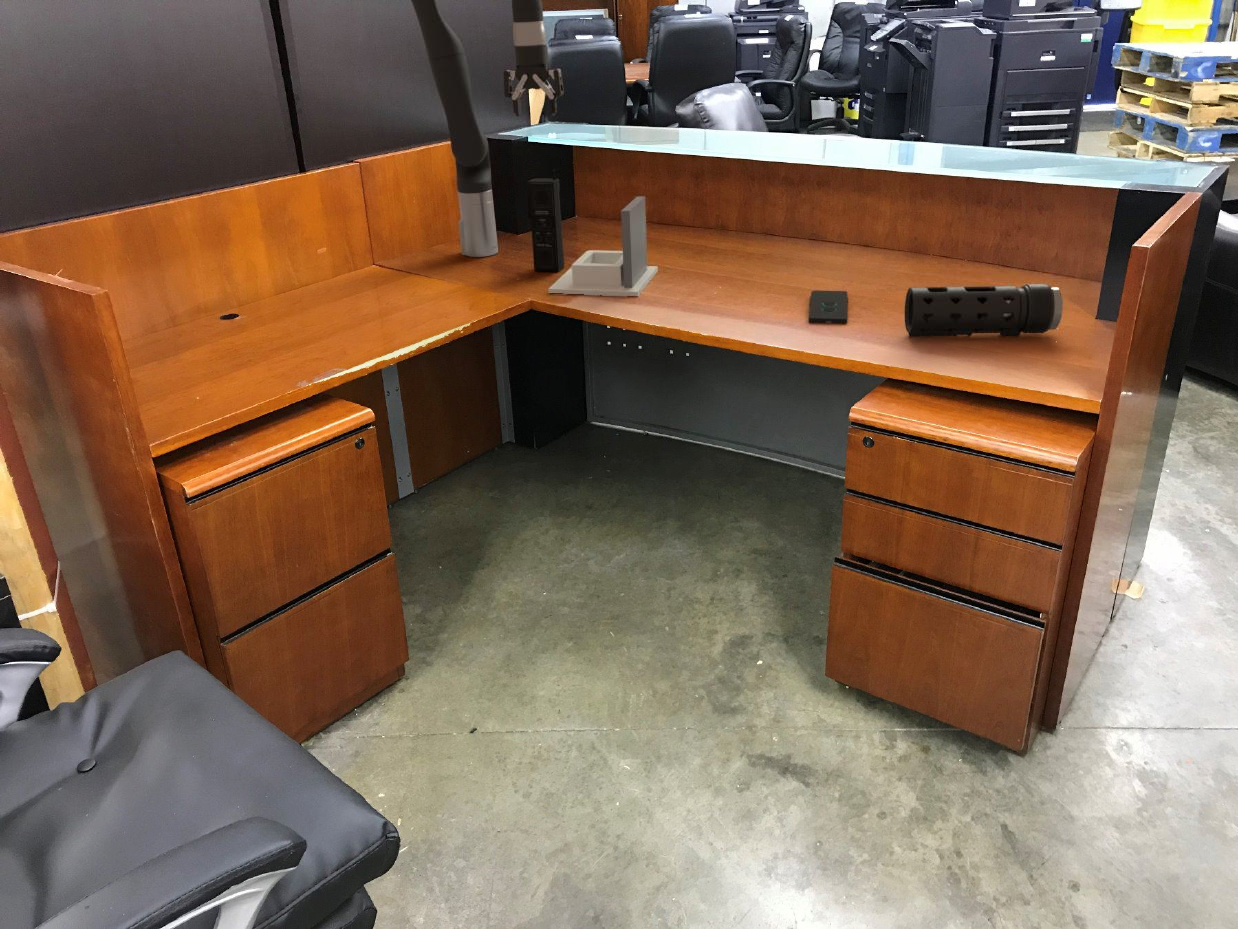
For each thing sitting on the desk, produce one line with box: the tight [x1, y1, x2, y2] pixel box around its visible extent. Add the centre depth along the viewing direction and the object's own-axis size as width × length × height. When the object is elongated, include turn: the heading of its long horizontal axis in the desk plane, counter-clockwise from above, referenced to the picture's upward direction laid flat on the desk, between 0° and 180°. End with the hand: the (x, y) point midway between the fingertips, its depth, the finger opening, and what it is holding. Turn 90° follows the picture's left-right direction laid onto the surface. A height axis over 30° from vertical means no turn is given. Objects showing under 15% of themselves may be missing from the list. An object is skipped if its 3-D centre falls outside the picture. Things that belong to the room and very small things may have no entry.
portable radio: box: [527, 169, 565, 273], centre depth 243 cm, size 8×6×25 cm
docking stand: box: [547, 196, 659, 297], centre depth 232 cm, size 22×22×19 cm
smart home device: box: [808, 290, 849, 325], centre depth 210 cm, size 8×2×20 cm
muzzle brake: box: [904, 283, 1064, 338], centre depth 189 cm, size 10×28×10 cm, turn 85°
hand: (535, 115), depth 232 cm, fingers open, 8 cm apart
